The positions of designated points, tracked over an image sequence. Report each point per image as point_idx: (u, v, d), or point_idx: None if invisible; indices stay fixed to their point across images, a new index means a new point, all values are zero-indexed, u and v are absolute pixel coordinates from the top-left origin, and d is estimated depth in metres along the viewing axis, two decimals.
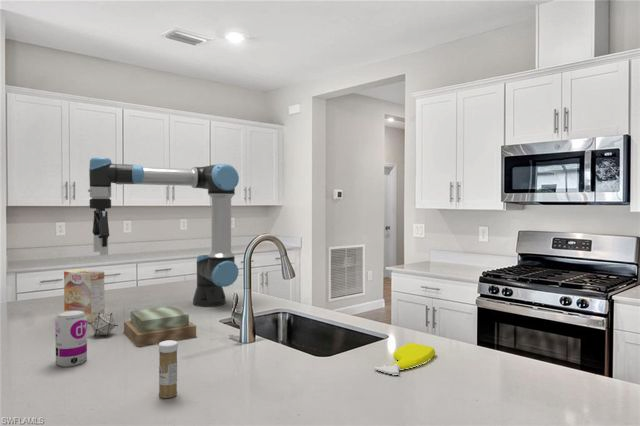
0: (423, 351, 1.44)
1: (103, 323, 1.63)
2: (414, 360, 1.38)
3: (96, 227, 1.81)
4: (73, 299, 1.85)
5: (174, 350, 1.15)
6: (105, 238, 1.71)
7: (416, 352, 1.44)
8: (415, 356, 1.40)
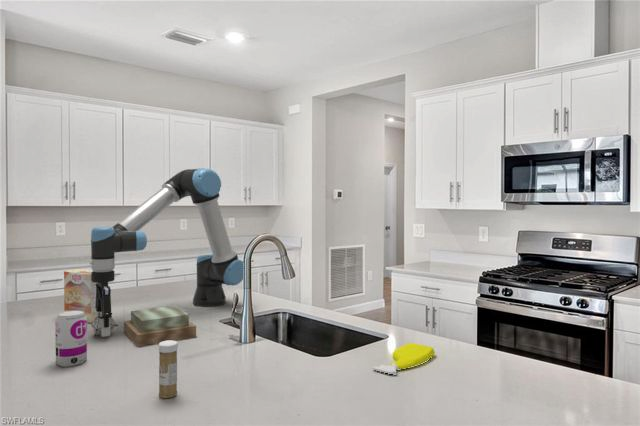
0: (422, 351, 1.44)
1: None
2: (412, 359, 1.38)
3: (99, 302, 1.68)
4: (73, 299, 1.85)
5: (174, 350, 1.15)
6: (107, 318, 1.60)
7: (415, 352, 1.44)
8: (413, 356, 1.41)
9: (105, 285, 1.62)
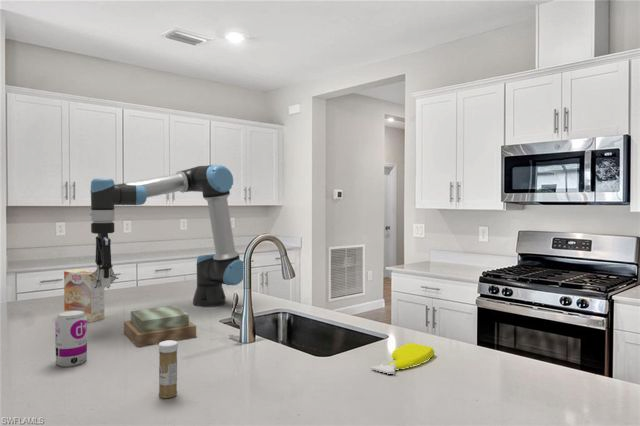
0: (421, 351, 1.44)
1: None
2: (411, 359, 1.38)
3: (99, 255, 1.67)
4: (73, 299, 1.85)
5: (174, 350, 1.15)
6: (107, 269, 1.60)
7: (415, 352, 1.44)
8: (413, 356, 1.41)
9: (105, 236, 1.61)
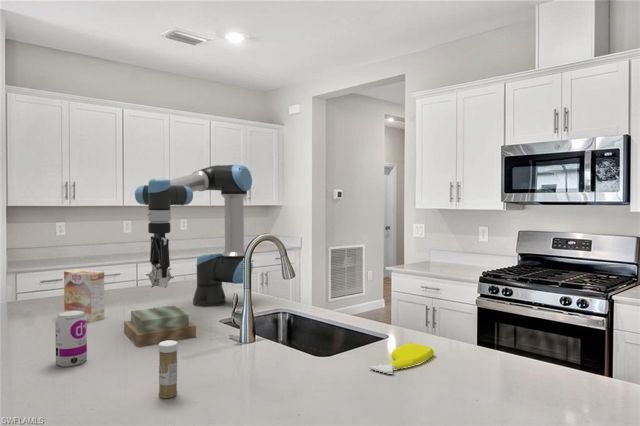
0: (421, 351, 1.44)
1: None
2: (410, 359, 1.38)
3: (154, 255, 1.69)
4: (73, 299, 1.85)
5: (174, 350, 1.15)
6: (165, 269, 1.61)
7: (414, 352, 1.44)
8: (412, 356, 1.41)
9: (162, 236, 1.63)
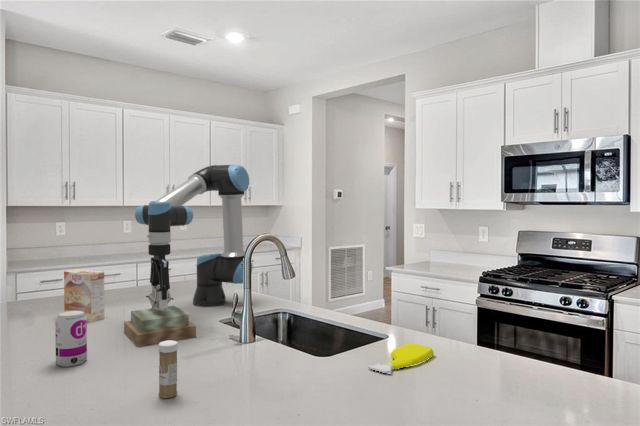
0: (420, 352, 1.44)
1: None
2: (409, 359, 1.38)
3: (154, 276, 1.69)
4: (73, 299, 1.85)
5: (174, 350, 1.15)
6: (165, 291, 1.62)
7: (413, 352, 1.44)
8: (411, 356, 1.41)
9: (162, 258, 1.63)
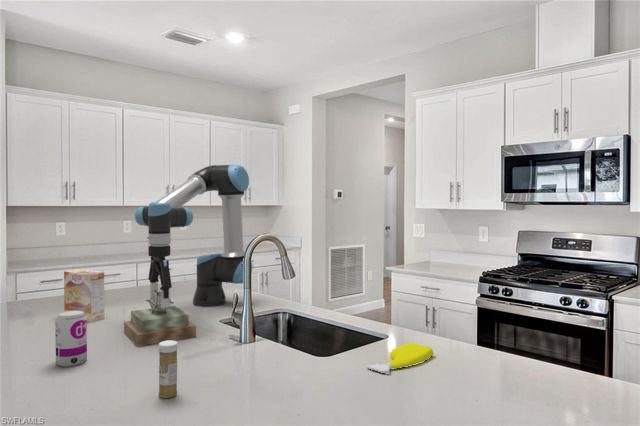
0: (419, 352, 1.44)
1: None
2: (407, 359, 1.38)
3: (153, 275, 1.70)
4: (73, 299, 1.85)
5: (174, 350, 1.15)
6: (167, 289, 1.60)
7: (413, 352, 1.44)
8: (410, 355, 1.41)
9: (162, 259, 1.63)
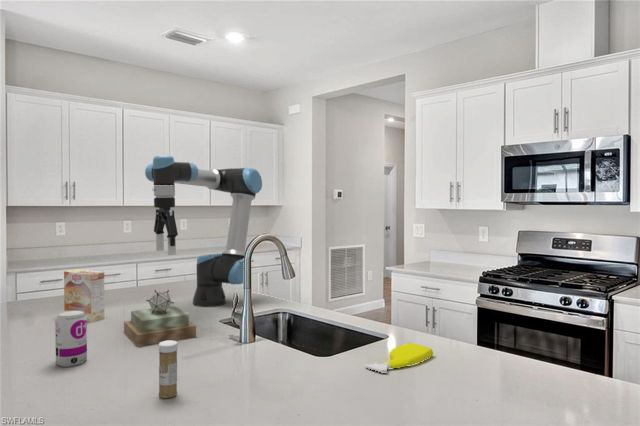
0: (419, 352, 1.44)
1: (162, 300, 1.64)
2: (406, 359, 1.38)
3: (159, 226, 1.79)
4: (73, 299, 1.85)
5: (174, 350, 1.15)
6: (173, 237, 1.69)
7: (412, 352, 1.44)
8: (409, 355, 1.41)
9: (168, 209, 1.72)
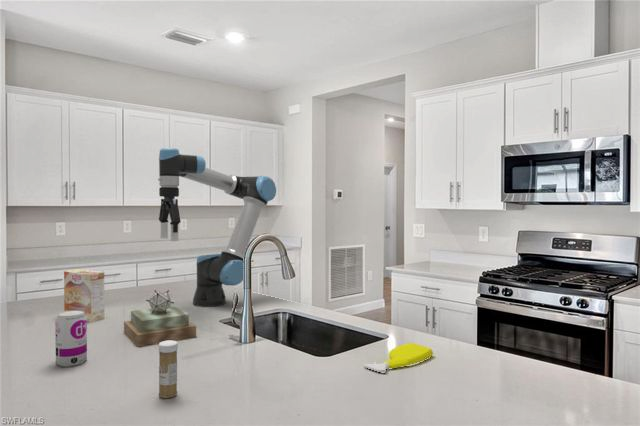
0: (418, 352, 1.44)
1: (162, 300, 1.64)
2: (405, 359, 1.38)
3: (163, 215, 1.89)
4: (73, 299, 1.85)
5: (174, 350, 1.15)
6: (176, 224, 1.79)
7: (411, 352, 1.44)
8: (408, 355, 1.41)
9: (172, 198, 1.83)
